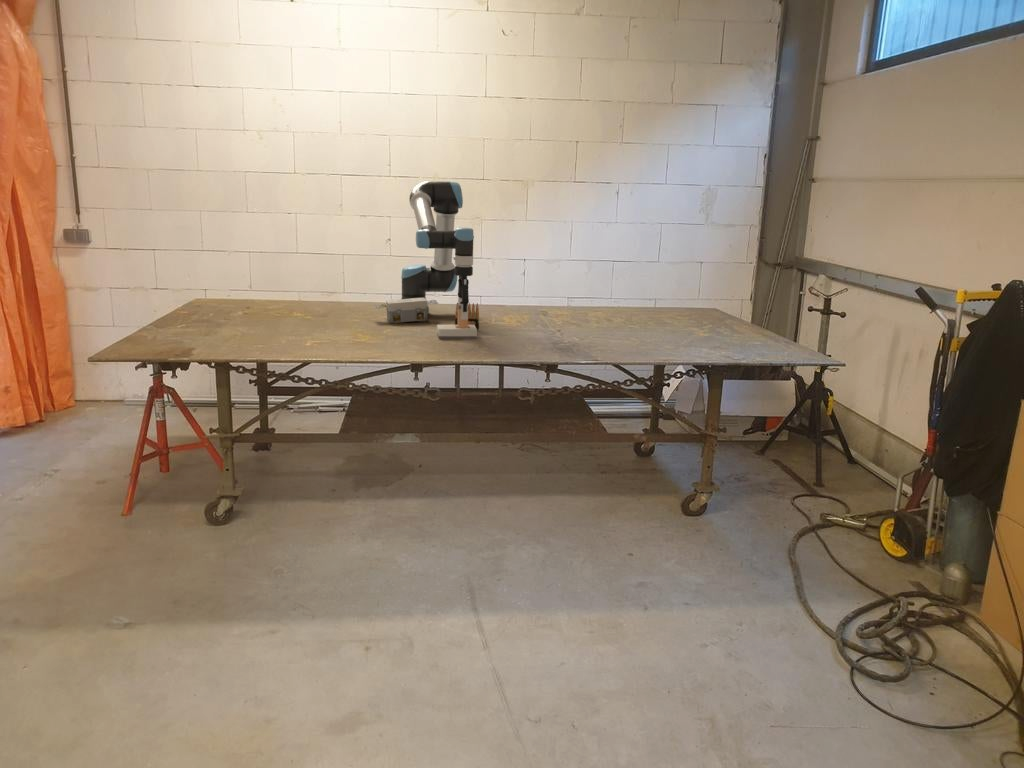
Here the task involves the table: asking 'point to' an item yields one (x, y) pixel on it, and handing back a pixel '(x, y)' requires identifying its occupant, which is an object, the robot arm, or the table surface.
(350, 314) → the table surface
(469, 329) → the socket plate
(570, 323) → the table surface
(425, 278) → the robot arm
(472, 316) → the ammunition clip
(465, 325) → the copper brown rectangular block
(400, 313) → the electrical outlet
